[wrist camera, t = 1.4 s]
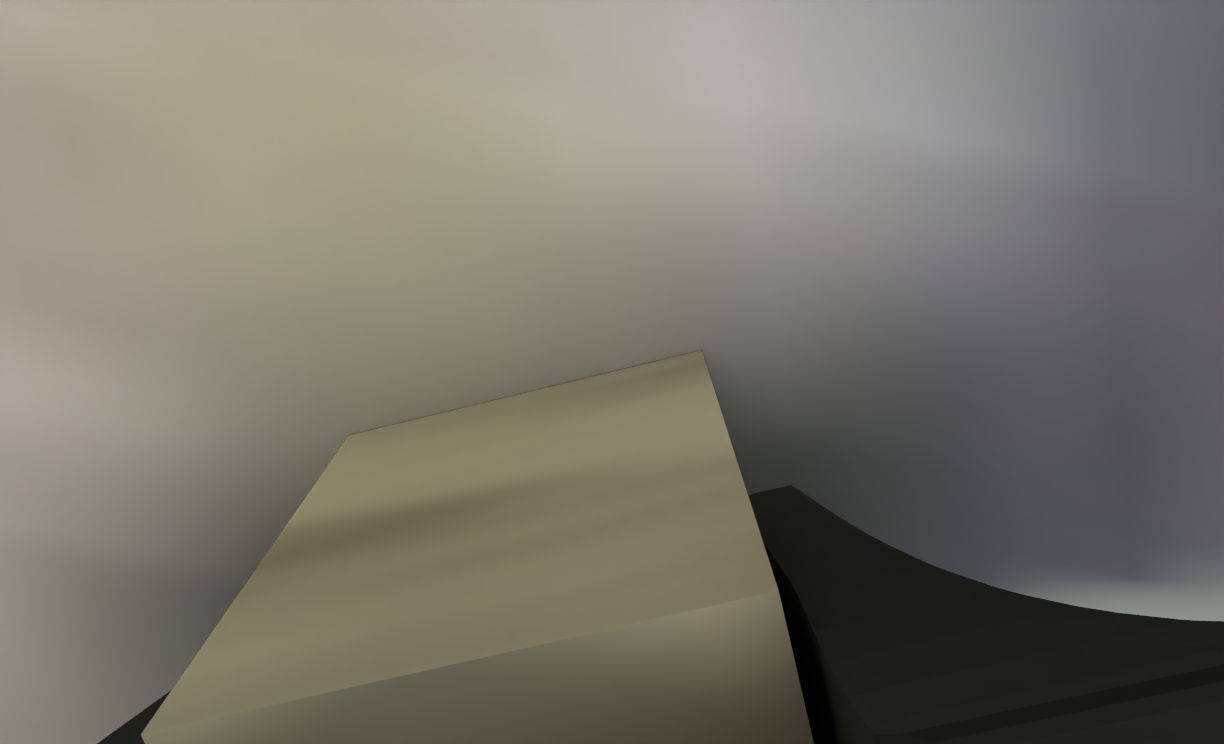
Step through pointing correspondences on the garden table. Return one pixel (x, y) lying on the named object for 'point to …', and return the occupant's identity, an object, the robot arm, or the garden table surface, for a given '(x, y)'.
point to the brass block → (513, 586)
